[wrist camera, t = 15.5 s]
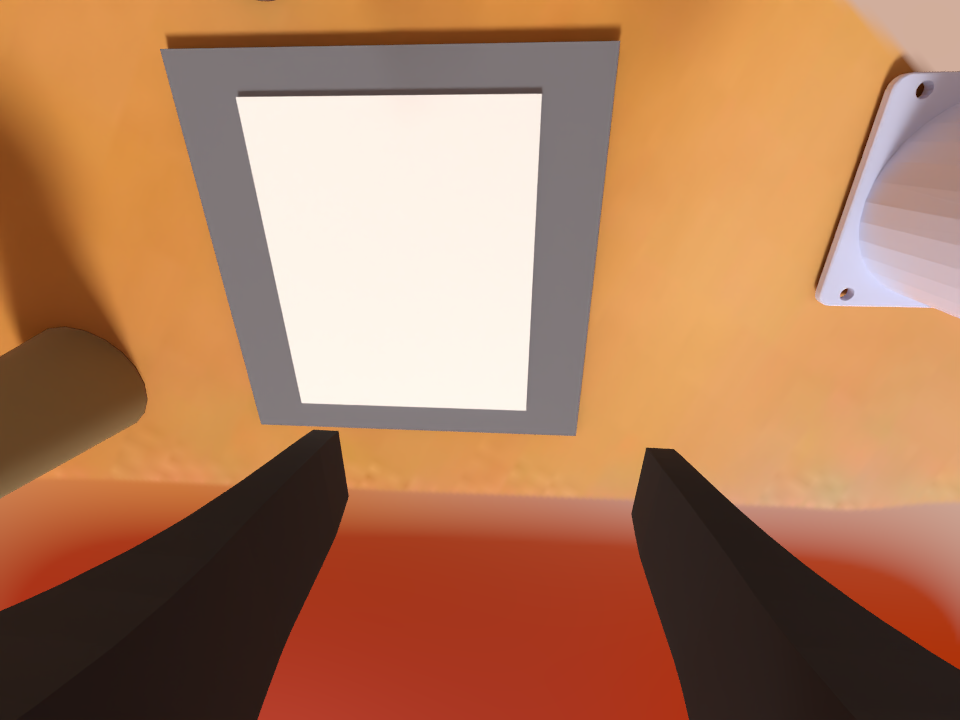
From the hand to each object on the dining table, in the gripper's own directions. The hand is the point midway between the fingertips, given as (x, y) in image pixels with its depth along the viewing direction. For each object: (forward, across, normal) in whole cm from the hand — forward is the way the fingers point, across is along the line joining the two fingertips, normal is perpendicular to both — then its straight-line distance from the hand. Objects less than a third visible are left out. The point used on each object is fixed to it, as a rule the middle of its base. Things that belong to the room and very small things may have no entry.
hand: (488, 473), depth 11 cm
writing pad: (+10, +4, -2) cm, 11 cm away
